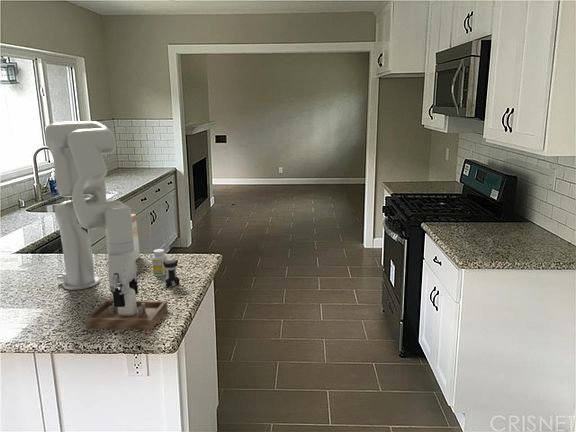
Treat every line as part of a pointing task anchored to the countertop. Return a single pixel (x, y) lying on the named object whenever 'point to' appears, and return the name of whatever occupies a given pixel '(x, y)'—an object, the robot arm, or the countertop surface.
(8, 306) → the countertop surface
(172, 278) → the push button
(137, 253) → the coffeecake box
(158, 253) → the supplement bottle
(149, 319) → the pin tray
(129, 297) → the eye dropper bottle
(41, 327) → the countertop surface
